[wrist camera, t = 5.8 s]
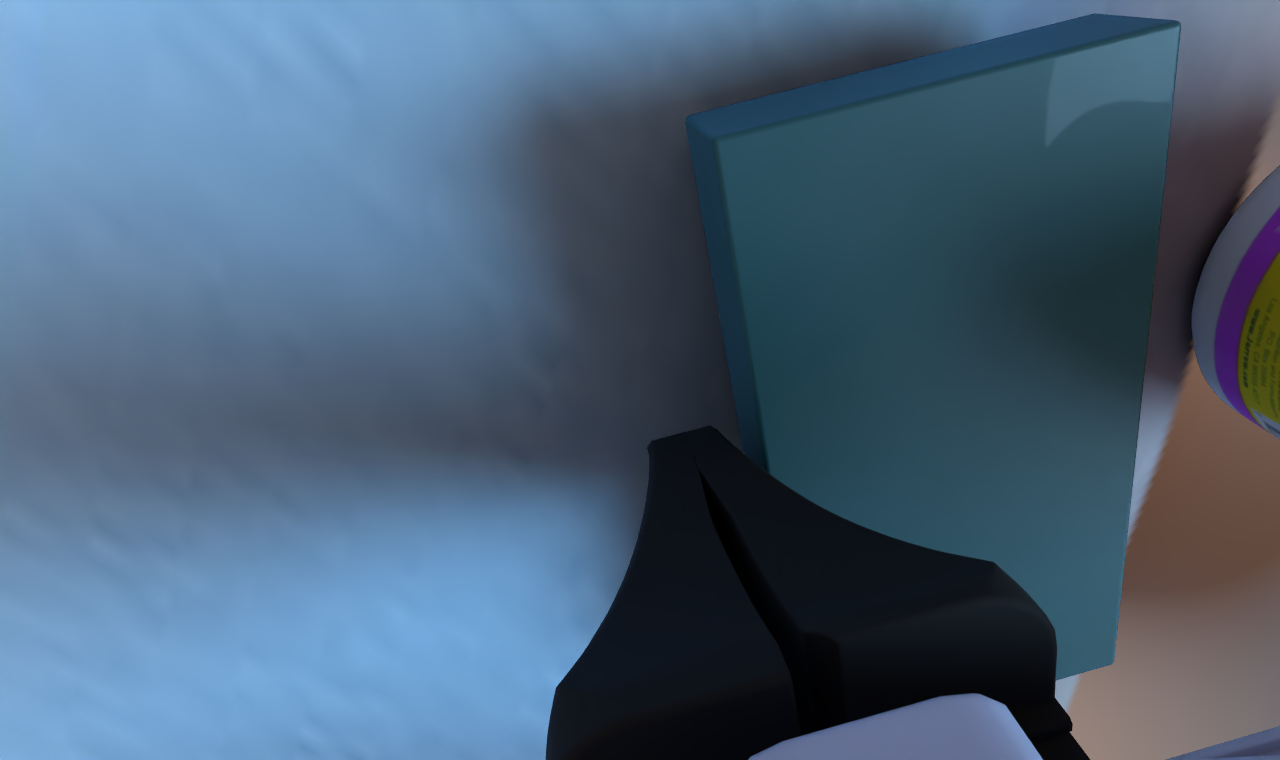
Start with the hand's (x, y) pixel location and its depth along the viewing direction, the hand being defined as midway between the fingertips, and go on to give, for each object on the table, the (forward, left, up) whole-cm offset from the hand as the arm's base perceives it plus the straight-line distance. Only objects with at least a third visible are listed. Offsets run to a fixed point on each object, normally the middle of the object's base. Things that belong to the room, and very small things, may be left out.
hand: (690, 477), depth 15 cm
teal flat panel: (0, -4, -1) cm, 5 cm away
